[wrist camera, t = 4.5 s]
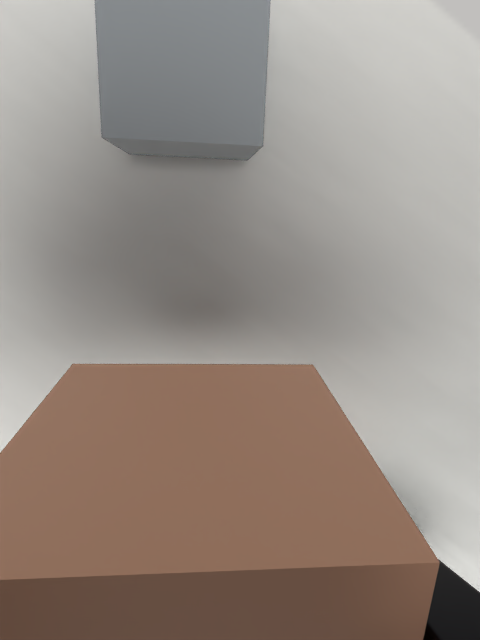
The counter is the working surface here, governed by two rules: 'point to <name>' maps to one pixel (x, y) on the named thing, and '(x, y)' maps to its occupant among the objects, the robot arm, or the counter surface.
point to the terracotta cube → (203, 513)
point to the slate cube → (183, 76)
